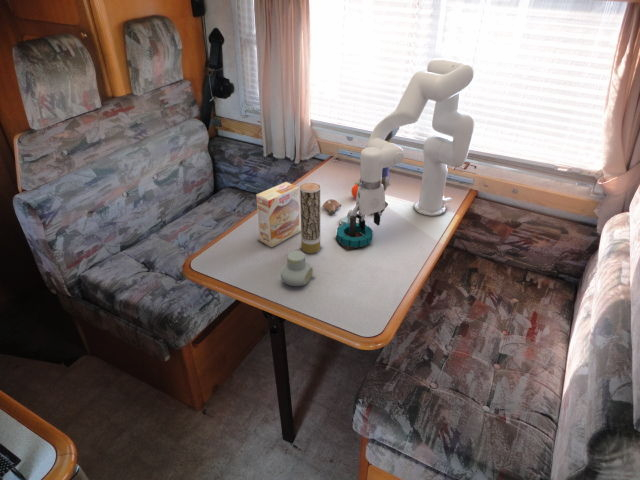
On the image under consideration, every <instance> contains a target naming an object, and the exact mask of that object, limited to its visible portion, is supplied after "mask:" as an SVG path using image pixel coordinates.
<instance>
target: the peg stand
mask: <svg viewBox="0 0 640 480" xmlns="http://www.w3.org/2000/svg"><path fill="white" fill-rule="evenodd" d="M356 223H357V219H356V217H355V216H353V215H352V216H350V225H349V232H348V233H346V235H347V236H350V237H361V236H363V234H362V233H359V232H356ZM335 239H336V240H337V234H336V235H335ZM340 245H342V246H343V248H345V249H346V251H350V250H354V249H356V248H360V247H359V246H358V247H350V246H346V245H343V244H342V243H340ZM368 245H369V244H367V245H366V246H368Z"/></svg>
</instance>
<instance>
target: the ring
mask: <svg viewBox="0 0 640 480" xmlns="http://www.w3.org/2000/svg"><path fill="white" fill-rule="evenodd" d="M349 225H350V223H346V224H343V225H341V224H340V225H339V226H338V227H337V229H336V235H337V239H336V241H338V242H339V243H340V244H341V243H342V244H343V245H346V246H350V247H357V248H361V247H366V246H368V245H369V244H370V243H372V241H373V238H374V237H373V235H374V234H373V228H371V227H370V226H369V225H368V224H365V230H363V229H361V228H360V227H359V222H356V232H359V233H361V234H362V235H363V236H361V237H350V236H347V235H346V233H348V232H349ZM342 244H341V245H342ZM367 244H368V245H367ZM343 245H342V246H343ZM358 246H359V247H358Z"/></svg>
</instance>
